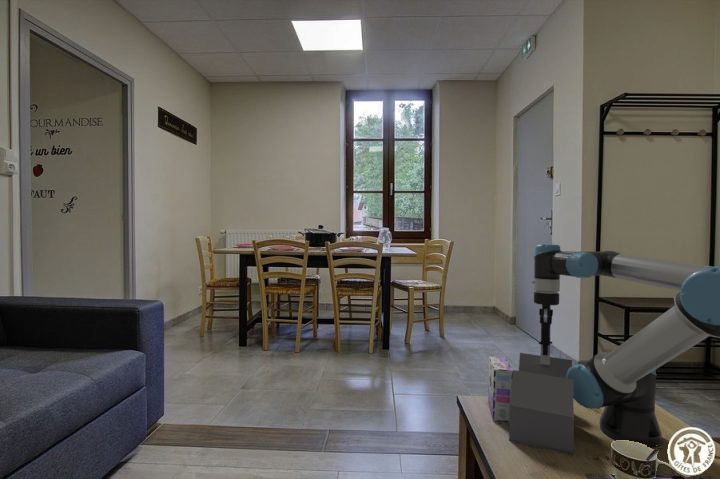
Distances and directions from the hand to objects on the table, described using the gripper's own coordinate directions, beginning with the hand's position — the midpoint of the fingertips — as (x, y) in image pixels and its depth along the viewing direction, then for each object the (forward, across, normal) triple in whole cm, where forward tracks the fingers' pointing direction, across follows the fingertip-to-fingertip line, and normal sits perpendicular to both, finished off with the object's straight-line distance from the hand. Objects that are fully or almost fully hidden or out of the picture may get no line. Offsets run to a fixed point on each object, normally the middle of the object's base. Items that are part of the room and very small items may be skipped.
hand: (545, 364), depth 130 cm
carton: (+16, +13, 0) cm, 21 cm away
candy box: (+17, +6, -13) cm, 22 cm away
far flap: (+2, +1, 0) cm, 2 cm away
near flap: (+2, +21, 0) cm, 21 cm away
